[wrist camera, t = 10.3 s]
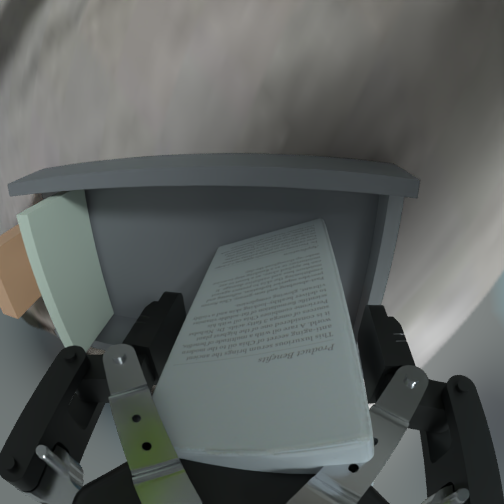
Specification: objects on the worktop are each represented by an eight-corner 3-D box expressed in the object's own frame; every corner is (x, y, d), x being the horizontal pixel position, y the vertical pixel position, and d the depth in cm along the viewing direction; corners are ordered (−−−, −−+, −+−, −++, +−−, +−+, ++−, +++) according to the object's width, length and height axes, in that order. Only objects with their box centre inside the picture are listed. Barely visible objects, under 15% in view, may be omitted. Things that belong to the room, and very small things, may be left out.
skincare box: (244, 305, 18) (197, 497, 8) (217, 244, 17) (122, 444, 6) (342, 281, 17) (376, 490, 6) (325, 214, 15) (373, 438, 4)
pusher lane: (393, 163, 14) (420, 180, 11) (358, 339, 19) (366, 378, 16) (43, 168, 16) (7, 184, 13) (80, 310, 22) (57, 337, 19)
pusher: (83, 184, 16) (26, 215, 11) (114, 313, 20) (80, 361, 15) (18, 191, 16) (-32, 218, 12) (50, 300, 21) (15, 338, 16)
